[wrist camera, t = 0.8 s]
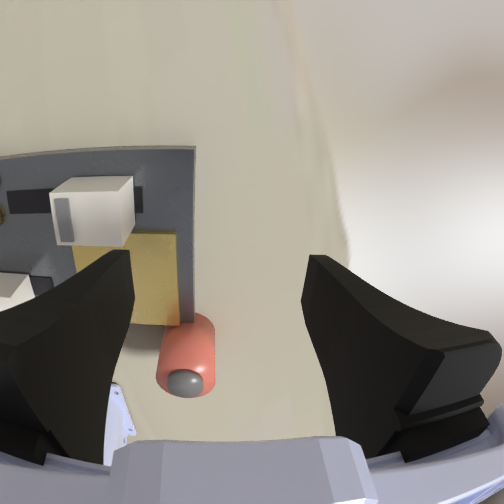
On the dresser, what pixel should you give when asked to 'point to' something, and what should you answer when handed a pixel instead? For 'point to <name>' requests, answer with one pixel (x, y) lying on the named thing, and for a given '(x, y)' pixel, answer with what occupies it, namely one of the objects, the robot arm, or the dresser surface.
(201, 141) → the dresser surface
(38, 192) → the panel
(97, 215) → the block
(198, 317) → the cap
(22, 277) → the block
